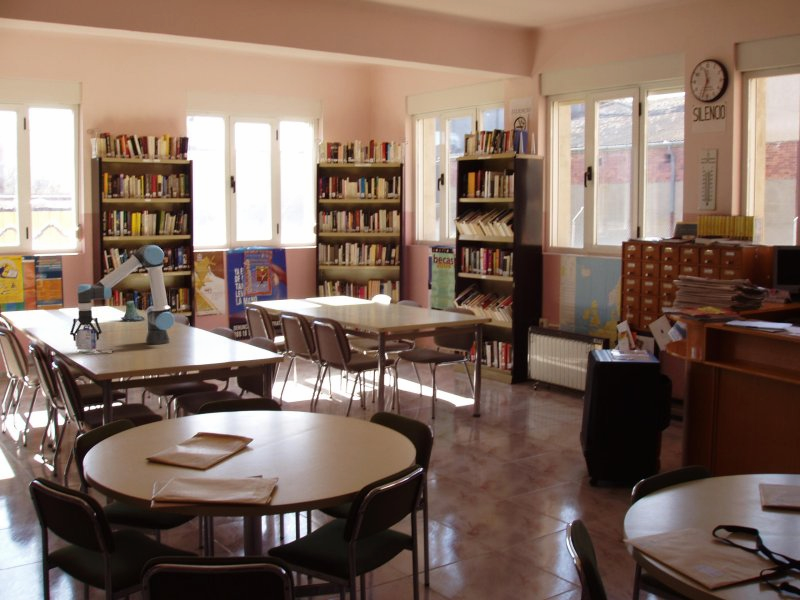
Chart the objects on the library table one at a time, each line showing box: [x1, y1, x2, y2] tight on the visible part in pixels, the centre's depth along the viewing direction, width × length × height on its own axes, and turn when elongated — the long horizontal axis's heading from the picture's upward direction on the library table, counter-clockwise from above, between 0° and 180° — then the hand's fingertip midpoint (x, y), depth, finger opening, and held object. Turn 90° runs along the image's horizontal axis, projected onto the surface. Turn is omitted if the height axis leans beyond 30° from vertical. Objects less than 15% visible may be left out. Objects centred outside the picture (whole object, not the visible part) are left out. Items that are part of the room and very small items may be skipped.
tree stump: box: [120, 300, 147, 322], centre depth 666 cm, size 18×20×18 cm
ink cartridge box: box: [76, 325, 97, 351], centre depth 521 cm, size 10×6×14 cm, turn 79°
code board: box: [77, 348, 108, 355], centre depth 523 cm, size 20×14×1 cm
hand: (86, 345), depth 522 cm, fingers closed on ink cartridge box, 11 cm apart
